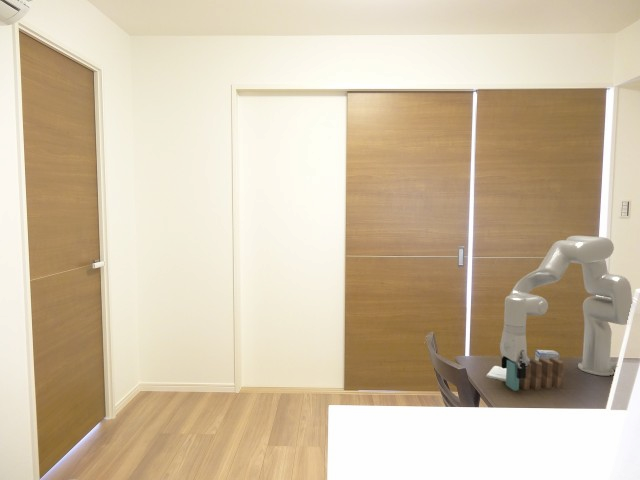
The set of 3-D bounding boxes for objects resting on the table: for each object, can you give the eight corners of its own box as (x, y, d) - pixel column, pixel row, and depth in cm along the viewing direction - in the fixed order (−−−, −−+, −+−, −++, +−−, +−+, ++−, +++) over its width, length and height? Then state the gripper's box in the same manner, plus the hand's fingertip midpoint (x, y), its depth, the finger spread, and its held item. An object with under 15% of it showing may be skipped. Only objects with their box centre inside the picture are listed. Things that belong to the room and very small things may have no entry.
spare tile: (513, 390, 151) (514, 364, 151) (505, 384, 156) (506, 359, 156) (518, 390, 152) (519, 364, 151) (510, 384, 156) (511, 359, 156)
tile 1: (553, 382, 159) (554, 357, 158) (562, 388, 154) (563, 362, 153) (548, 382, 159) (549, 358, 158) (557, 388, 154) (558, 362, 153)
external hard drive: (514, 373, 169) (508, 383, 159) (493, 369, 174) (486, 378, 164) (514, 369, 169) (508, 379, 159) (494, 365, 174) (486, 374, 164)
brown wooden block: (531, 383, 158) (533, 358, 157) (540, 389, 153) (541, 363, 152) (527, 383, 157) (528, 358, 157) (535, 389, 152) (536, 363, 152)
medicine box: (553, 370, 172) (554, 350, 171) (558, 374, 167) (559, 353, 167) (534, 369, 172) (535, 349, 172) (538, 373, 168) (539, 353, 167)
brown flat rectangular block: (542, 383, 158) (543, 358, 158) (551, 388, 153) (552, 362, 153) (537, 383, 158) (539, 358, 157) (546, 388, 153) (547, 363, 152)
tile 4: (521, 384, 157) (522, 359, 156) (529, 389, 152) (530, 363, 151) (516, 384, 157) (517, 359, 156) (524, 390, 152) (525, 364, 151)
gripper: (492, 322, 160) (491, 364, 162) (519, 336, 143) (518, 383, 144) (510, 322, 161) (508, 363, 163) (539, 335, 144) (537, 381, 145)
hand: (513, 372), depth 154 cm, fingers open, 9 cm apart
